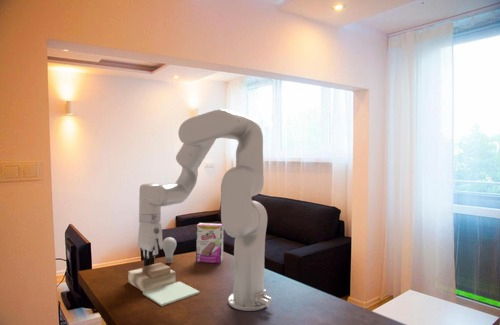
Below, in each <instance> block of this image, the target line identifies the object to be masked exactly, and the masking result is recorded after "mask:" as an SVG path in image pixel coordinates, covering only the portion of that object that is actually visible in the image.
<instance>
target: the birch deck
mask: <svg viewBox="0 0 500 325" xmlns="http://www.w3.org/2000/svg"><path fill="white" fill-rule="evenodd" d="M127 275H128V276H127V278H128V279H127V281H128V283H129V284H130V285H132V286H133V287H135V288H137V289H138V290H140V291H141V292H142V293H143V292H145V291H149V290H152V289H156V288H159V287H162V286H166V285H169V284H172V283H176V282H177V281H176V276H177V273H176V271H175V270H172V269H171V270H170V274H169V275H165V276H161V277H158V278H154V279H151V278H149V277H148V276H146V275H144V274H142V267H140V268H135V269H132V270H128V272H127Z"/></svg>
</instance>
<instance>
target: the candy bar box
mask: <svg viewBox="0 0 500 325" xmlns="http://www.w3.org/2000/svg"><path fill="white" fill-rule="evenodd" d="M224 233H225V230H224V228H223V226H222V223H210V222H209V223H208V222H198V223H197V224H196V241H195V242H196V244H195V245H196V246H195V247H196V249H195V263H201V264H202V263H203V264H206V263H207V264H222V262H223V261H224Z"/></svg>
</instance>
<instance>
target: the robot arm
mask: <svg viewBox="0 0 500 325" xmlns="http://www.w3.org/2000/svg"><path fill="white" fill-rule="evenodd" d="M178 138H179V140H180V142H181V143H182V145H181V147H180V149H179V151H178V152H177V154H176V155H175V160H176V162H177V163H178V164H179V165H180V166H181V167H182V168H181V172H180V175H179V176H178V178H177V180H176V181H175V183H168V184H167V183H166V184H160V183H159V184H158V183H143V184H141V185H140V186H139V191H138V192H139V196H138V199H139V201H138V204H139V206H138V208H139V210H138V223H139V227H138V236H137V237H138V238H137V240H138V241H137V242H138V246H139V247H140V249H141V251H142V253H143V254H142V255H143V259H144V260H143V266H148V265H152V264H155V257H156V256H157V255H159V251H161V250H163V248H162V246H163V243H162V242H163V228H162V223H161V221H162V220H161V218H162V216H161V214H162V212H161V211H162V210H161V209H162V207H167V206H173V205H179V204H181V203H183V202H185V201H186V200H187V199H188V197H189V196H190V195H191V193H192V192H193V190H194V188H195V186H196V184H197V180H198V176H199V175H198V174H199V167H200V166H201V165H202V162H203V161H204V160H205V158H206V156H207V155H208V153H209V151H210V150H211V149H212V146H213V145H214V144H215V142H216V140H217V139H221V138H222V139H229V140H236V141H237V142H238V144H237V147H236V152H235V166H234V167H231V168H229V169H228V170H227V171H226V172H225V173H224V175H223V176H222V180H221V183H220V220H221V224H222V226H223V228H224V233H226V234H227V235H228V236H229V237H231V238H235V239H234V244H233V248H234V250H233V292H232V293H231V294H230V295H229V296H228V302H227V303H228V305H229V306H230V307H231V308H234V309H236V310H240V311H242V312H243V311H244V312H245V311H246V312H254V311H255V312H256V311H260V310H262V309H264V308H269V307H270V305H271V303H272V301H273V297H270V296H268V295H267V289H265V253H266V252H265V251H266V249H265V248H266V235H267V234H266V233H267V227H268V213H267V209H266V207H264V205H263V204H262V203H261V202H260V201H256V200H253V199H252V197H255V196H257V195H259V194H260V193H261V192H262V191H263V188H264V182H265V181H264V179H265V178H264V136H263V132H262V128H261V126H260V125H259V123H258V122H257V121H256V120H255V119H254V118H251V117H249V116H248V115H245V114H242V113H240V112H236V111H233V110H229V109H226V108H225V109H223V108H221V109H219V108H218V109H214V110H210V111H208V112H206V113H205V112H204V113H202V114H198V115H195V116H192V117H189V118H188V119H186V120H184V121H183V122H182V123H181V124H180V126H179V128H178Z"/></svg>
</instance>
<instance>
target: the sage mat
mask: <svg viewBox="0 0 500 325" xmlns="http://www.w3.org/2000/svg"><path fill="white" fill-rule="evenodd" d="M200 293H201V292H200V290H197V289H196V288H193V287H191V286H190V285H188V284H185V283H183V282H182V281H176V283H172V284H169V285H166V286H162V287H159V288H156V289H152V290H149V291H145V292H143V291H142V295H143V296H145V297H147V298H148V299H150V300H151V301H153V302H154V303H156V304H157V305H159V306H161V307H163V306H165V305H169V304H173V303H175V302H178V301H180V300H184V299H187V298H189V297H193V296H195V295H198V294H200Z"/></svg>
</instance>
